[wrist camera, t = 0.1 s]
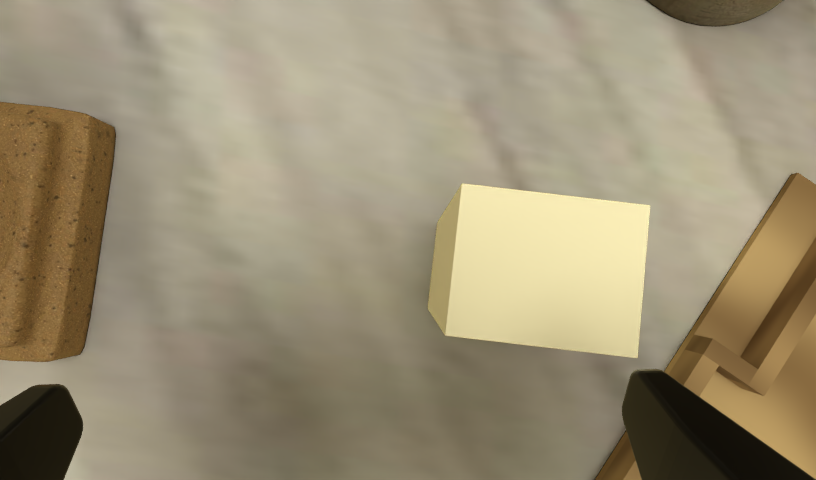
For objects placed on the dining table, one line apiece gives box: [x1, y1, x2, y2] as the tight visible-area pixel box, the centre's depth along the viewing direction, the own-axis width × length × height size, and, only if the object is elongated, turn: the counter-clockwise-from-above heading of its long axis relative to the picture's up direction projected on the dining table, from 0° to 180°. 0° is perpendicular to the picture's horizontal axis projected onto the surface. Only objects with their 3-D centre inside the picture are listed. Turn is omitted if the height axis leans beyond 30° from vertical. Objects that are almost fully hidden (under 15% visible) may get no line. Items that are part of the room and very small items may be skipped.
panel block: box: [428, 184, 650, 358], centre depth 18 cm, size 4×5×10 cm
